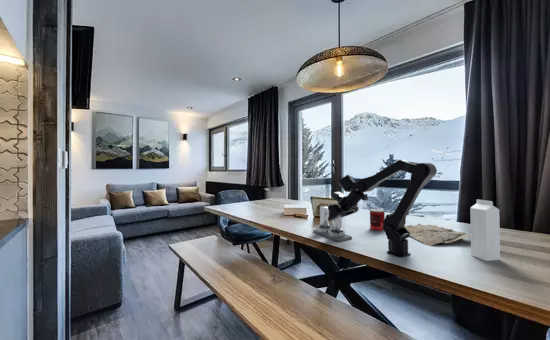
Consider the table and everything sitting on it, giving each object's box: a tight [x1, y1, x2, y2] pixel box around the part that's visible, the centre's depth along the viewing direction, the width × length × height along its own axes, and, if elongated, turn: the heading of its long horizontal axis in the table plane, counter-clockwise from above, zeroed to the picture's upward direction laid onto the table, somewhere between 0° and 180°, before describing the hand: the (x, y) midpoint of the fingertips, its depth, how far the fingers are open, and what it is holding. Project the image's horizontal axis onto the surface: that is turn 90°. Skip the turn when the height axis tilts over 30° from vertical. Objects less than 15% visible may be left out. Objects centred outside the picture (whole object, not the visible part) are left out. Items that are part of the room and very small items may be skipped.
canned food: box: [369, 208, 386, 232], centre depth 134 cm, size 8×8×11 cm
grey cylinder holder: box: [312, 205, 353, 243], centre depth 124 cm, size 20×9×14 cm, turn 27°
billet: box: [331, 216, 343, 233], centre depth 120 cm, size 5×5×13 cm
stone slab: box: [404, 223, 471, 247], centre depth 119 cm, size 33×27×5 cm
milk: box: [469, 198, 501, 262], centre depth 90 cm, size 6×6×22 cm
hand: (334, 218), depth 121 cm, fingers open, 9 cm apart
